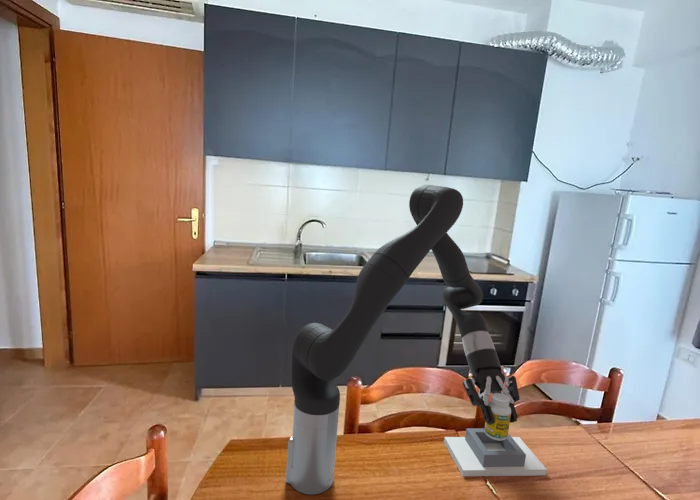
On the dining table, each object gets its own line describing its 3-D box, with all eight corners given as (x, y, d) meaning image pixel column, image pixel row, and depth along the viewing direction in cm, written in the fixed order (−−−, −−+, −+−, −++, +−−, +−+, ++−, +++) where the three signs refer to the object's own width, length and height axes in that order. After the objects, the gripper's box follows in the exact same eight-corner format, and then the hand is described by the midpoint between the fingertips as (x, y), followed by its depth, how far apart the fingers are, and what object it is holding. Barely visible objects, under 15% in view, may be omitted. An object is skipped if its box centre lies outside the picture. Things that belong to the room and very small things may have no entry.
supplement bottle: (496, 426, 99) (502, 390, 98) (512, 439, 94) (518, 401, 93) (479, 429, 97) (484, 392, 96) (493, 443, 92) (499, 404, 91)
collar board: (462, 476, 89) (465, 458, 89) (443, 442, 101) (445, 426, 100) (545, 475, 92) (549, 457, 91) (518, 442, 104) (520, 426, 103)
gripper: (462, 348, 98) (483, 421, 88) (512, 346, 102) (538, 416, 92) (448, 359, 104) (467, 429, 94) (497, 357, 108) (520, 424, 98)
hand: (502, 422), depth 93 cm, fingers closed on supplement bottle, 5 cm apart
